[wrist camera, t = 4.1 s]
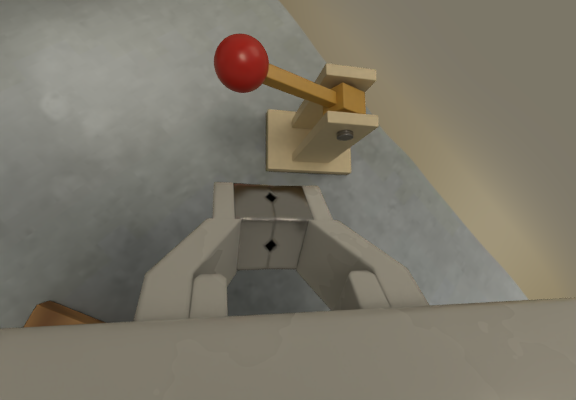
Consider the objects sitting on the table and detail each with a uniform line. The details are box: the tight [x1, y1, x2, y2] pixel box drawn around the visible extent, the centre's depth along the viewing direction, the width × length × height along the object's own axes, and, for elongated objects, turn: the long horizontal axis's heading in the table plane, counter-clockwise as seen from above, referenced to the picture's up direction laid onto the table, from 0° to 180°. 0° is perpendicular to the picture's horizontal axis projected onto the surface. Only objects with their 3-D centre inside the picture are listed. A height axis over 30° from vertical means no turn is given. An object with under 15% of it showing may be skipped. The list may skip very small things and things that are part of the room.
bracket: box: [266, 63, 379, 175], centre depth 31 cm, size 10×7×13 cm
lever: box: [214, 34, 366, 115], centre depth 24 cm, size 13×4×4 cm, turn 90°
